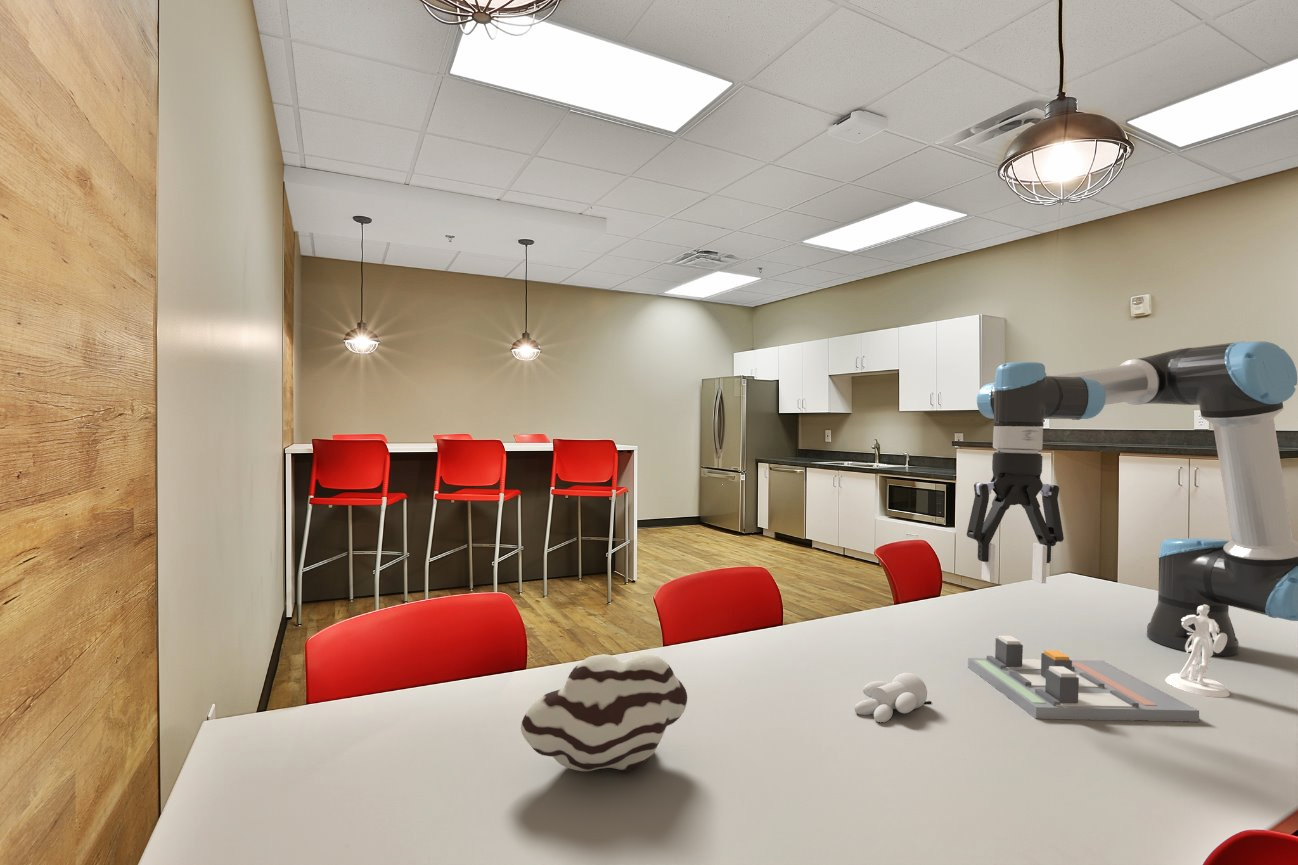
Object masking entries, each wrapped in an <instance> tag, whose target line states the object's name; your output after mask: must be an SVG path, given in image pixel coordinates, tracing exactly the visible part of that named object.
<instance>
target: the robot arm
mask: <svg viewBox="0 0 1298 865" xmlns="http://www.w3.org/2000/svg"><path fill="white" fill-rule="evenodd" d="M1297 384H1298V371H1297V367H1296V364H1295V362H1294V361H1293V359H1292V357H1291V356H1290V354H1289V353H1288V352H1287V351H1286V350H1285V349H1284V348H1281V347H1280V346H1279V345H1278V344H1275V343H1273V342H1270V341H1261V340H1260V341H1243V340H1242V341H1237V342H1229V343H1220V344H1214V345H1213V344H1212V345H1204V346H1203V345H1202V346H1197V347H1196V346H1195V347H1186V348H1179V349H1174V350H1170V351H1164V352H1161V353H1158V354H1152V355H1149V356H1144V357H1139V358H1134V359H1133V358H1132V359H1128V360H1125V361H1124V362H1122V363H1120V365H1118V366H1111V367H1102V368H1096V369H1095V368H1093V369H1086V370H1080V371H1073V372H1066V373H1059V374H1058V373H1057V374H1051V375H1047V372H1046V366H1045V364H1044V363H1042V362H1038V361H1037V362H1036V361H1019V362H1018V361H1016V362H1005V363H1002V364H1000V365H999V366H998V367H996V370H995V377H994V382H990V383H989V382H988V383H987V384H985V385H983V386H982V387H981V388H980V389H979V391H978V392H977V396H976V405H977V409H978V411H979V412H980V414H981V415H982V416H983V417H986V418H987V419H993V435H992V436H993V437H992V448H993V449H994V450H995V449H996V451H994V452H993V453H992V464H991V465H992V467H991V470H992V478H991V480H990V481H989V482H988V481H987V482H983V483H982V482H975V483H974V484H973V490H974V498H973V503H972V508H971V513H970V518H969V523H968V527H967V530H966V537H967V538H970V539H972V540H975V541H976V542H977V560H978V561H980V562H981V576H980V578H981V579H982V580H984V581H986V582H988V583H995V567H996V566H995V562H996V560H995V559H996V544H995V543H992V540H993V537H994V535H995V534H996V532H997V529H999V526H1000V524H1001V522H1002V519H1003V518H1004V515H1005V513H1006V511H1007V510H1009V509H1010V507H1011V506H1017V505H1020V506H1021V507H1022V509H1024V510H1025V513H1026V515H1027V518H1028V520H1029V523H1030V525H1031V527H1032V530H1033V532H1034V535H1035V537H1036V538H1037V542H1033V543H1032V564H1031V565H1032V567H1031V569H1032V570H1031V579H1032V580H1033V581H1036V582H1037V583H1040V584H1047V564H1050V563H1051V561H1052V547H1055V546H1056V545H1057V543H1058V542H1059V543H1060V542H1063V541H1064V538H1065V537H1064V532H1063V524H1062V518H1061V513H1060V512H1061V511H1060V507H1059V501H1058V500H1059V499H1058V498H1059V494H1060V493H1059V492H1060V487H1059V486H1058V485H1056V484H1051V483H1050V484H1049V483H1046V484H1045V483H1043V482H1042V479H1041V475H1042V473H1043V455H1042V453H1039V451H1042V450H1043V445H1044V444H1043V443H1044V442H1043V440H1044V439H1043V438H1044V424H1045V423H1044V421H1045V420H1073V421H1074V420H1077V421H1079V420H1088V419H1091V418H1092V419H1093V418H1094V417H1096V416H1097V415H1099V414H1100V413H1101V412H1102V410H1103V409H1104V407H1105V406H1106V405H1113V404H1121V403H1127V404H1129V405H1134V406H1137V405H1138V406H1139V405H1141V406H1142V405H1145V404H1147V405H1149V404H1151V405H1152V404H1157V405H1158V404H1160V405H1179V406H1180V405H1181V406H1182V405H1183V406H1185V405H1186V406H1189V405H1190V406H1192V405H1193V406H1194V405H1195V406H1197V405H1198V406H1199V411H1200V416H1201V418H1202V419H1204V420H1206V421H1208V422H1209V423H1211V425H1212V427H1213V433H1214V434H1213V435H1214V437H1215V438H1214V439H1215V445H1216V452H1217V456H1218V463H1219V468H1220V475H1221V481H1222V487H1223V493H1224V499H1225V505H1226V512H1227V517H1228V524H1229V529H1230V536H1231V540H1228V539H1220V538H1197V537H1196V538H1194V537H1193V538H1192V537H1191V538H1188V537H1186V538H1185V537H1183V538H1181V537H1179V538H1178V537H1175V538H1174V537H1173V538H1172V537H1171V538H1166V539H1164V540H1163V541H1161V544H1160V547H1159V555H1158V557H1157V558H1158V587H1157V588H1158V589H1157V590H1158V591H1157V595H1158V596H1157V605H1156V606H1155V609H1154V612H1153V614H1152V616H1151V619H1150V621H1149V622H1148V623H1147V625H1146V638H1148V639H1150V640H1151V641H1153V642H1155V643H1156V644H1160V645H1163V646H1165V647H1168V648H1172V649H1175V650H1180V651H1184V652H1187V651H1186V649H1185V645H1186V643H1187V641H1188V639H1189V638H1190V636H1191V635H1188V634H1187V633H1193V632H1190V631H1188V630H1186V629H1184V628H1183V626H1182V622H1183V621H1181V619H1182V618H1183V617H1186V616H1187V615H1196V616H1199V615H1200V614H1199V612H1198V614H1197V608H1198V606H1201V605H1202V606H1203V605H1208V606H1209V607H1210V608H1209V609H1208V610H1209V612H1208V614H1207V616H1208V618H1210V619H1214V620H1215V621H1216V623H1217V624H1218V625H1219V627H1218V628H1219V629H1220V631H1219V633H1217V632H1216V633H1217V635H1219V634H1220V633H1225V634H1226V635H1227V643H1226V645H1225V647H1224V649H1223V650H1222V651H1221V652H1220V653H1216V652H1214V651H1213V655H1212V656H1216V657H1231V656H1236V655H1238V654H1239V651H1240V650H1239V648H1240V646H1239V645H1240V644H1239V639H1238V638H1237V637H1236V633H1235V629H1234V626H1233V624H1232V621H1231V618H1230V614H1229V610H1230V609H1229V606H1230V607H1233V608H1235V609H1236V608H1237V609H1241V610H1244V611H1249V612H1252V613H1257V614H1261V615H1263V616H1267V617H1269V618H1272V619H1276V618H1277V619H1282V620H1286V621H1290V622H1291V621H1292V622H1298V541H1297V540H1295V539H1294V538H1293V532H1292V526H1291V521H1290V520H1291V519H1290V512H1289V508H1288V501H1287V500H1288V499H1287V495H1286V494H1287V492H1286V489H1285V481H1284V476H1283V470H1282V469H1283V468H1282V464H1281V463H1282V462H1281V457H1280V449H1279V444H1278V437H1277V432H1276V426H1275V425H1276V424H1275V417H1276V416H1278V415H1279V414H1280V413H1281V412H1282V411H1283V410H1284V403H1285V402H1287V401H1288V400H1290V398H1291V397H1292V396H1293V395H1294V394H1295V393H1296V387H1295V386H1297ZM992 491H993V492H994V494H995V495H994V497H993V500H992V502H991V507H990V509H989V510H988V506H989V500H990V495H991V494H992ZM1038 494H1041V500H1042V507H1043V512H1044V516H1043V513H1042V511H1041V505H1040V503H1039V500H1038V497H1037V496H1038ZM987 511H989V512H988V514H987ZM1188 627H1189V628H1191V629H1192V630H1194V631H1195V630H1196V627H1195V625H1194V624H1191V625H1188ZM1192 635H1193V634H1192ZM1210 636H1211V638H1212V642H1213V643H1214V641H1215V640H1213V636H1212V633H1210ZM1191 645H1192V639H1191V640H1190V642H1189V644H1188V649H1189V647H1190V646H1191ZM1189 653H1192V651H1190V652H1189ZM1201 655H1202V652H1201Z"/></svg>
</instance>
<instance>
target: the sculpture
mask: <svg viewBox="0 0 1298 865" xmlns="http://www.w3.org/2000/svg"><path fill="white" fill-rule="evenodd" d="M687 704H688V693H687V690H686V687H685V686H684V684H683V683H682V682H681V681H680V680H679V679H678V677H676V675H675V673H674V671H673V669H672V667H671V666H670V664H668V662H667V661H665V660H664V659H663V658H661V657H660V656H658V655H655V654H651V653H640V654H637V655H636V654H635V655H633V656H632V657H630V658H628V659H626V660H620V659H618V658H617V657H616V656H613V655H610V654H604V653H603V654H596V655H590V656H588V657H586V658H584V659H583V660H582V661H581V662H580V663H578V664H577V665H576V666H575V667H574V668H573V669H572V670H571V672H570V673H569V674H568V677H567V680H566V682H565V683H564V686H563V687H561V688H559V689H557V690H554V691H550V692H547V693H544V694H543V695H541V696H539V697H538V698H537V699H535V700H534V701H533V703H532V704H531V705H530V707H529V708H528V710H527V711H526V713H525V714H524V716H523V719H522V720H521V724H520V731H521V735H522V736H523V738H524V739H525V741H526V742H527V743H528V745H529V746H530V747H531V748H532V750H534V751H535V752H536V753H537V754H539V755H541V756H545V757H552V758H553V759H554V760H555V761H556V762H557V763H558V764H559V765H561V766H563V767H565V768H567V769H571V770H573V771H574V770H575V771H578V772H579V771H580V772H592V771H595V770H599V769H607V768H609V769H610V768H611V769H616V770H619V771H633V770H636V769H638V768H640V767H641V766H642V765H643V764H644V763H645V762H647V761H648V760H649V759H651V757H652V756H653V755H654V753H655V752H656V750H657V748H658V745H659V744H660V742H661V740H662V738H663V736H664V734H665V731H666V729H667V727H668V726H671V725H673V724H674V723H676V722H677V721H678V720H679V719H680V717H682V715H683V714H684V713H685V710H686V708H687Z"/></svg>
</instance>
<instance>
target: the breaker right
mask: <svg viewBox="0 0 1298 865" xmlns="http://www.w3.org/2000/svg"><path fill="white" fill-rule="evenodd" d="M1078 690H1079V678H1078V677H1076V674H1075V673H1074V672H1072V671H1070V670H1069V669H1067V668H1065V667H1063V666H1049V669H1046V684H1045V692H1046V693H1048V694H1049V695H1051V696H1052V697H1054V698H1055V699H1057V700H1058V701H1060V703H1078Z"/></svg>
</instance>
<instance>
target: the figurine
mask: <svg viewBox="0 0 1298 865" xmlns="http://www.w3.org/2000/svg"><path fill="white" fill-rule="evenodd" d="M1209 608H1210V607H1209V606H1208V605H1203V606H1202V605H1201V606H1198V608H1197V614H1198V612H1199V614H1200V615H1199V616H1196V615H1187V616H1186V617H1183V618H1182V619H1181V621H1183V622H1182V626H1183V628H1184V629H1186V630H1188V631H1190V632H1193V633H1187V634H1188V635H1191V636H1190V638H1189V639H1188V641H1187V643H1186V645H1185V649H1186V651H1185V652H1186V653H1185V655H1188V653H1190V655H1189V658H1188V660H1187V661H1186V663H1185V664H1184V666H1183V668H1182V669H1181V670H1180V672H1179V673H1178V672H1174V673H1169V675H1168V676H1167V677H1166V678H1165V682H1166V683H1167V684H1168V685H1170V686H1171V685H1172V686H1171V687H1174V688H1175V689H1179V690H1181V691H1185V692H1186V693H1191V694H1193V695H1198V696H1204V697H1213V698H1227V697H1229V696H1230V695H1231V694H1230V692H1229V690H1228V689H1227V687H1226V686H1225V685H1224V684H1222V683H1220V682H1219V681H1216V680H1215V679H1211V678H1207V677H1204V676H1205V674H1206V672H1207V670H1209V667H1208V666H1210V663H1211V660H1210V658H1211V657H1212V656H1214V655H1213V651H1214V652H1216V653H1220V652H1221V651H1222V650H1223V649H1224V647H1225V645H1226V643H1227V635H1226V634H1225V633H1220V634H1219V635H1217V633H1219V631H1220V629H1219V628H1218V627H1219V625H1218V624H1217V623H1216V621H1215V620H1214V619H1210V618H1208V616H1207V614H1208V612H1209V610H1208V609H1209ZM1191 624H1194V625H1195V627H1196V630H1195V631H1194V630H1192V629H1191V628H1189V627H1188V625H1191ZM1216 632H1217V633H1216ZM1210 633H1212V636H1213V640H1215V641H1214V643H1213V642H1212V638H1211V636H1210ZM1192 634H1193V635H1192ZM1191 639H1192V645H1191V646H1190V647H1189V649H1188V644H1189V642H1190V640H1191ZM1190 651H1192V652H1190ZM1201 652H1202V654H1201ZM1201 658H1202V659H1201ZM1200 661H1201V664H1199V662H1200ZM1197 671H1198V674H1196V673H1197Z"/></svg>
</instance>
